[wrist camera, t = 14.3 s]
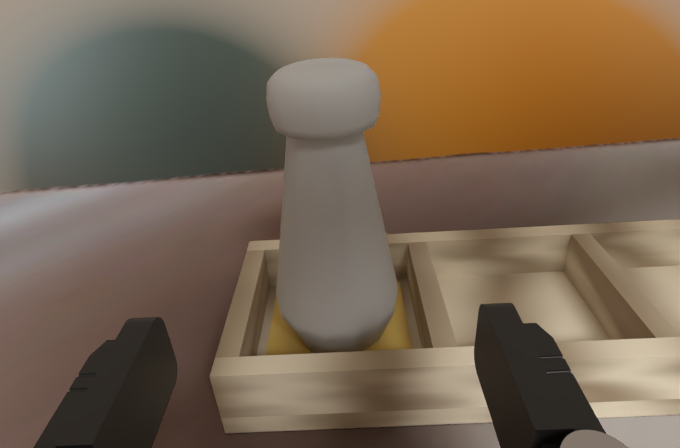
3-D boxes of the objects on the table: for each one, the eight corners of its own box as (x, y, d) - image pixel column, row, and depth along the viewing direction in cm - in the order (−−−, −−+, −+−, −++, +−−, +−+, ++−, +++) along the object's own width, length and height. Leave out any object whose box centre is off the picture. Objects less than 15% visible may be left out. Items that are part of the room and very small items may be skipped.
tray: (716, 262, 29) (737, 212, 27) (888, 405, 20) (937, 344, 18) (259, 285, 29) (250, 237, 28) (225, 433, 20) (209, 376, 19)
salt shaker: (260, 351, 23) (206, 78, 16) (315, 283, 27) (290, 46, 21) (372, 388, 21) (362, 88, 14) (413, 308, 25) (420, 50, 18)
